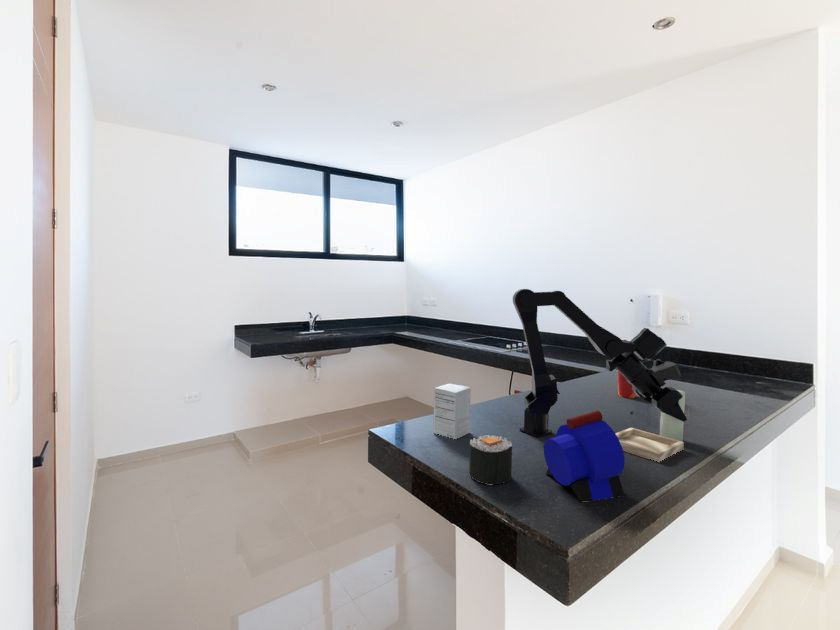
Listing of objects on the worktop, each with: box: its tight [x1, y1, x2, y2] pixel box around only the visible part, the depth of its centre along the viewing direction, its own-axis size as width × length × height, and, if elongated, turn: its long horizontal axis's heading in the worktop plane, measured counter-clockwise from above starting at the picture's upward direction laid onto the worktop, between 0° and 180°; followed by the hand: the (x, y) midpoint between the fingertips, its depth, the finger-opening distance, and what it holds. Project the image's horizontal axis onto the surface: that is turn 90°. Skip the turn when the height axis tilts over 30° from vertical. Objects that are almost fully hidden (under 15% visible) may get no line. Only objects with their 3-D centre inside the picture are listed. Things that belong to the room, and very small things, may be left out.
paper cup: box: [617, 370, 637, 399], centre depth 154 cm, size 8×8×14 cm
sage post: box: [659, 389, 686, 442], centre depth 109 cm, size 5×5×13 cm
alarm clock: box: [543, 410, 625, 502], centre depth 83 cm, size 12×12×15 cm
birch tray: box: [615, 427, 685, 463], centre depth 104 cm, size 13×13×2 cm
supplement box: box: [433, 383, 472, 440], centre depth 111 cm, size 7×7×13 cm
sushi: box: [468, 434, 513, 485], centre depth 86 cm, size 8×8×8 cm
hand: (678, 415), depth 109 cm, fingers open, 8 cm apart
